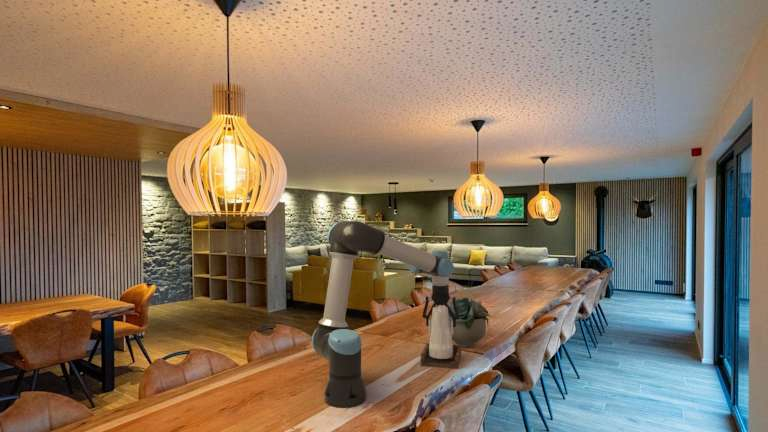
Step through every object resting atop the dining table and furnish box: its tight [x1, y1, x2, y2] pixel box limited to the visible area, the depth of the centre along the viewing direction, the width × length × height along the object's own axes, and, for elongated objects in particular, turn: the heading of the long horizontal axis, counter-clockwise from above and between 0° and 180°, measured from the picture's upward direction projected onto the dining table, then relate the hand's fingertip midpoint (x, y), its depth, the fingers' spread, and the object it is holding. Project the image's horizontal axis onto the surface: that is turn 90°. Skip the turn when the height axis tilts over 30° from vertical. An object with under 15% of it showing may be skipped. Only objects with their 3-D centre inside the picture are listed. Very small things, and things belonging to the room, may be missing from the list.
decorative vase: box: [428, 301, 454, 359], centre depth 186 cm, size 11×11×25 cm
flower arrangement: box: [449, 297, 491, 348], centre depth 210 cm, size 25×25×24 cm
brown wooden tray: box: [420, 343, 462, 370], centre depth 186 cm, size 17×16×5 cm
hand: (441, 333), depth 186 cm, fingers closed on decorative vase, 9 cm apart
